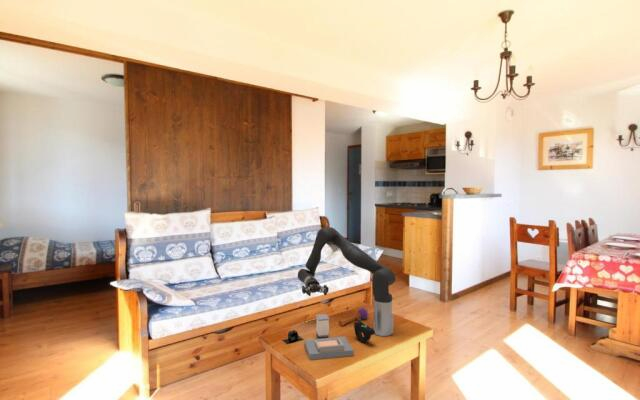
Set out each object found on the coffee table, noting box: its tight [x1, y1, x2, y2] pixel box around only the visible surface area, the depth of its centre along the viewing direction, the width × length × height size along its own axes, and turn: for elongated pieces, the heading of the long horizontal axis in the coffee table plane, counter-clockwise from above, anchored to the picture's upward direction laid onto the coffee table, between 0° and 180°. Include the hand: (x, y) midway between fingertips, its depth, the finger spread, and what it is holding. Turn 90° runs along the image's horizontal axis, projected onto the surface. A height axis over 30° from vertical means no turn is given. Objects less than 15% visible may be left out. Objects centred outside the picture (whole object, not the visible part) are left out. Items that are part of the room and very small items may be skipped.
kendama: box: [338, 307, 369, 327], centre depth 189 cm, size 6×6×20 cm
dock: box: [304, 336, 355, 361], centre depth 156 cm, size 20×14×5 cm
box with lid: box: [315, 313, 330, 339], centre depth 168 cm, size 5×6×11 cm
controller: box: [353, 319, 375, 343], centre depth 164 cm, size 4×12×10 cm, turn 35°
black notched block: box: [281, 329, 305, 345], centre depth 166 cm, size 12×7×5 cm, turn 123°
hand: (317, 293), depth 178 cm, fingers open, 8 cm apart
